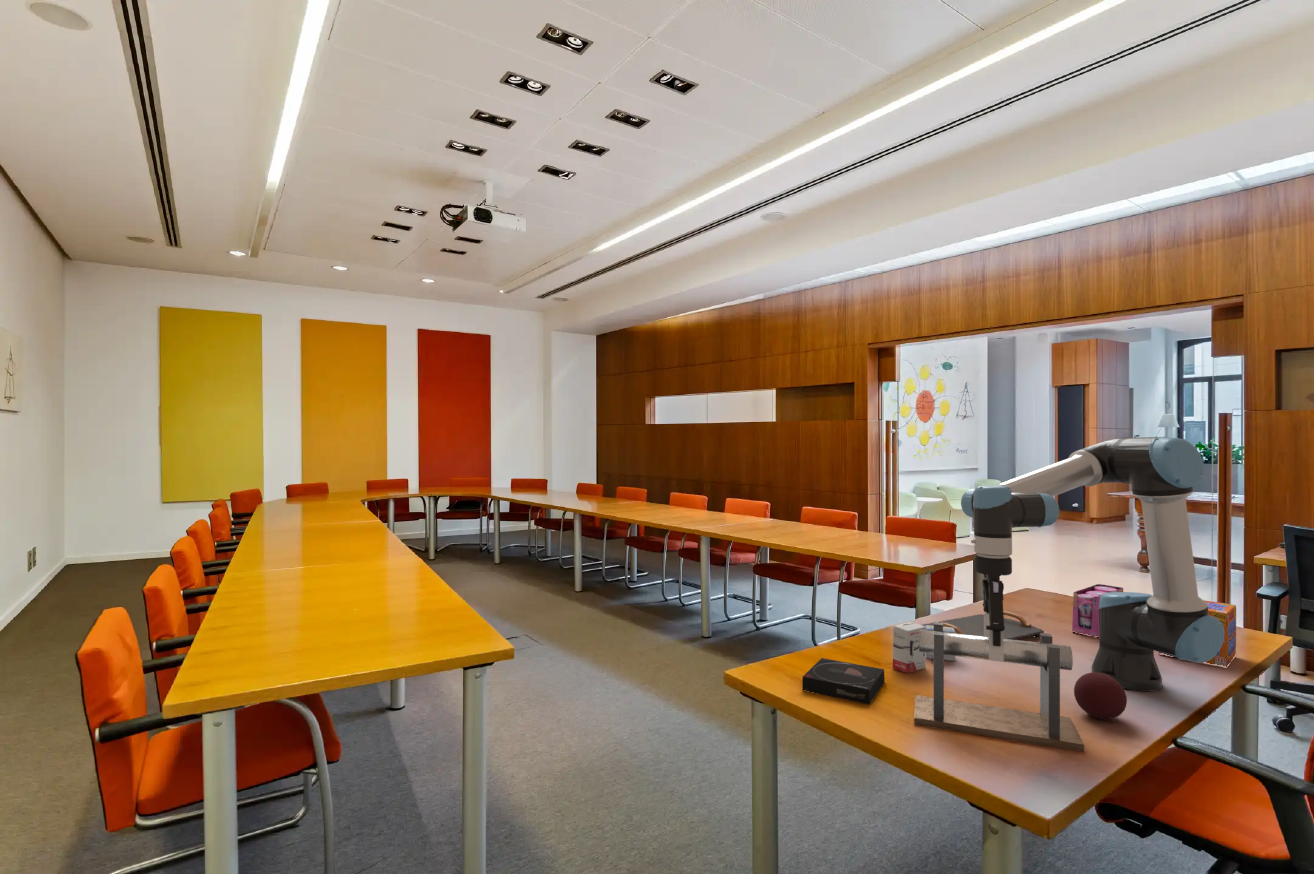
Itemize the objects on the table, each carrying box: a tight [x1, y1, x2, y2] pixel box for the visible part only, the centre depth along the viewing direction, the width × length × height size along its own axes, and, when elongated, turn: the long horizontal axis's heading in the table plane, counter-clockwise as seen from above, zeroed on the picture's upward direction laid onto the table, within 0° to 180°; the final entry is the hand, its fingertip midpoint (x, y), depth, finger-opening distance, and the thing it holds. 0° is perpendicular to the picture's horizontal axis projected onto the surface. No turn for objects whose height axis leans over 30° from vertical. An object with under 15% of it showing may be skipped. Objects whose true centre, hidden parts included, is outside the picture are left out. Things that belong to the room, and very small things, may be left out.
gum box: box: [1071, 583, 1124, 636], centre depth 216 cm, size 24×8×14 cm, turn 127°
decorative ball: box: [1073, 672, 1128, 720], centre depth 147 cm, size 10×10×10 cm
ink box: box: [892, 621, 926, 674], centre depth 179 cm, size 8×5×12 cm, turn 123°
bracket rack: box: [913, 621, 1085, 753], centre depth 143 cm, size 32×14×20 cm, turn 67°
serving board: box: [921, 610, 1045, 640], centre depth 209 cm, size 39×23×6 cm, turn 117°
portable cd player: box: [801, 657, 885, 705], centre depth 165 cm, size 16×17×4 cm
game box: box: [1158, 599, 1237, 667], centre depth 190 cm, size 16×16×16 cm
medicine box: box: [925, 625, 956, 662], centre depth 188 cm, size 8×4×9 cm, turn 71°
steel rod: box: [919, 630, 1074, 671], centre depth 144 cm, size 30×5×5 cm, turn 67°
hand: (993, 650), depth 143 cm, fingers open, 13 cm apart
